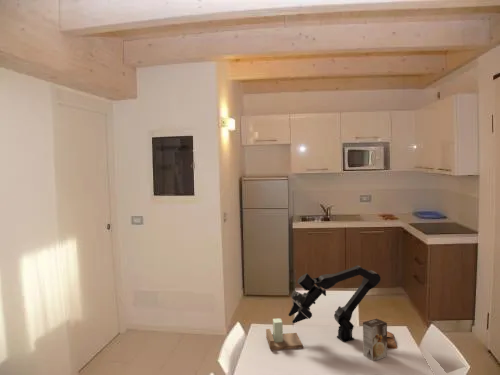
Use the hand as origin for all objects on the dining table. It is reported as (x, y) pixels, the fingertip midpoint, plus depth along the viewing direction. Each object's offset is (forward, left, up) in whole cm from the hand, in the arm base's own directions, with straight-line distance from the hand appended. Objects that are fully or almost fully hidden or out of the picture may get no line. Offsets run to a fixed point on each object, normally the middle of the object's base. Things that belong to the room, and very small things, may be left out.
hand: (290, 319), depth 195 cm
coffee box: (-27, +31, -12) cm, 42 cm away
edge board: (+3, -1, -12) cm, 12 cm away
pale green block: (+6, -2, -10) cm, 12 cm away
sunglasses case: (-43, +21, -13) cm, 50 cm away
